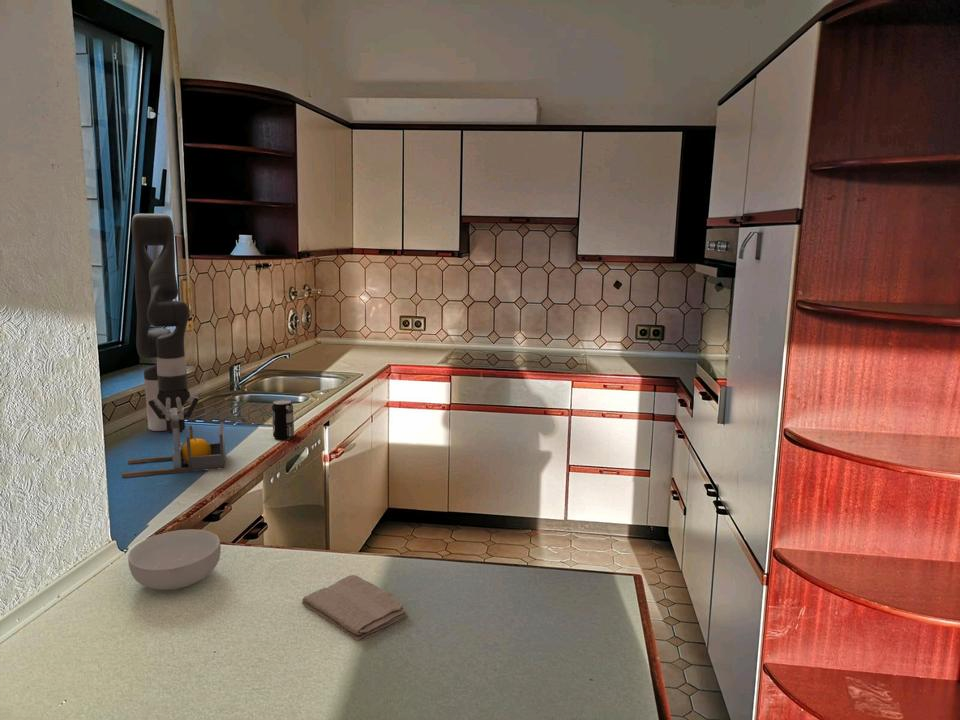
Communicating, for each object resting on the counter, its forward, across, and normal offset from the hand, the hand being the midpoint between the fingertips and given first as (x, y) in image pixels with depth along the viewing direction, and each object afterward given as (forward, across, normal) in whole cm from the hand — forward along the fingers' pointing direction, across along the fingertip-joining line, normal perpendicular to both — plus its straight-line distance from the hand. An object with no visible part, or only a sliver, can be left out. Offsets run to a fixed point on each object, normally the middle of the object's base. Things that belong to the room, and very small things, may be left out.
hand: (176, 431), depth 203 cm
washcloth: (+10, -37, +91) cm, 99 cm away
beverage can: (+10, -30, -19) cm, 37 cm away
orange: (+10, -5, 0) cm, 11 cm away
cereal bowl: (+10, -6, +70) cm, 71 cm away
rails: (+10, +5, 0) cm, 11 cm away
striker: (+10, 0, 0) cm, 10 cm away
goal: (+10, -8, 0) cm, 13 cm away
